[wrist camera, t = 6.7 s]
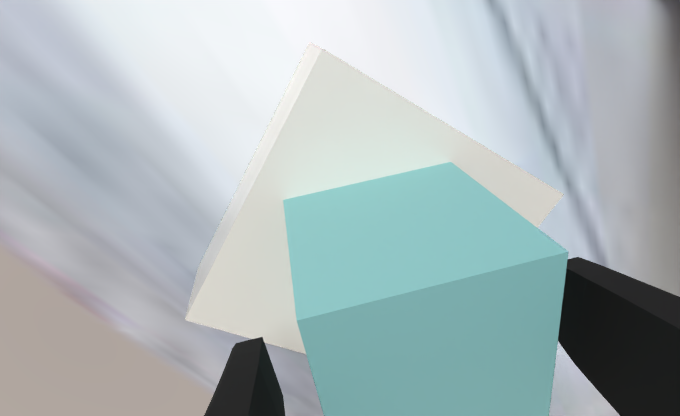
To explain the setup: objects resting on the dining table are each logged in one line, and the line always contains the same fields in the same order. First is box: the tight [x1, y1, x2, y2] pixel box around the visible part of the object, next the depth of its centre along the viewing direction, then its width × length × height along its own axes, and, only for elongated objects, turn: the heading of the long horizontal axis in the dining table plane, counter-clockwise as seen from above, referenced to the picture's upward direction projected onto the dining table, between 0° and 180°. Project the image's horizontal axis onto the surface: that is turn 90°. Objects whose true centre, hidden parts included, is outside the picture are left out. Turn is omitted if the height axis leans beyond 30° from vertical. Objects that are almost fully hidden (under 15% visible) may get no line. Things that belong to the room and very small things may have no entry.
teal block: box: [283, 162, 568, 416], centre depth 10 cm, size 5×5×5 cm
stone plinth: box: [185, 42, 564, 354], centre depth 14 cm, size 9×9×3 cm
